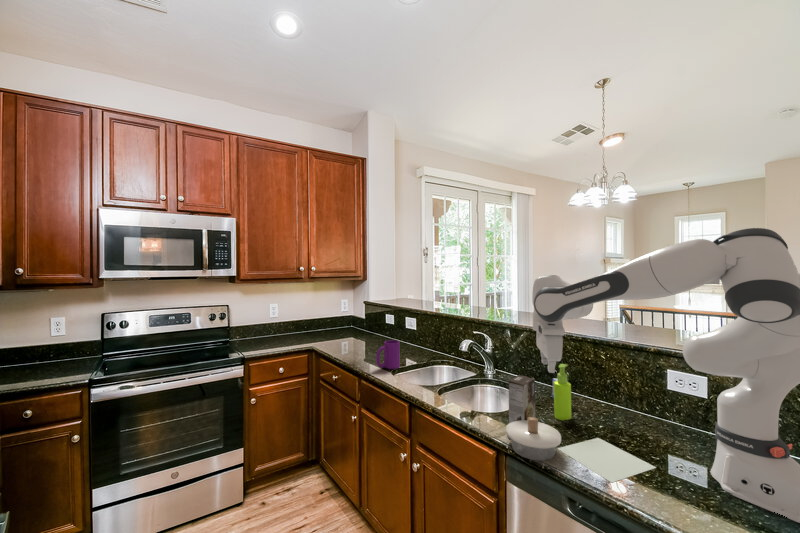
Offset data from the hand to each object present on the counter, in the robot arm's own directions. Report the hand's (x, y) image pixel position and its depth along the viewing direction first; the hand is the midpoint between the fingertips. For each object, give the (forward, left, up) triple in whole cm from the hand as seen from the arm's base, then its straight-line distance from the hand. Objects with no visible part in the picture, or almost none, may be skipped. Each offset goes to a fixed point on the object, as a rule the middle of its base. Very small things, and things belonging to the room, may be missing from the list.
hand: (547, 367), depth 108 cm
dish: (0, +7, -25) cm, 26 cm away
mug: (+100, +21, -25) cm, 105 cm away
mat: (-12, -9, -25) cm, 29 cm away
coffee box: (+16, -3, -25) cm, 30 cm away
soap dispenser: (+14, -21, -25) cm, 35 cm away
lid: (-1, +7, -20) cm, 21 cm away
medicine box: (+26, -33, -25) cm, 49 cm away
